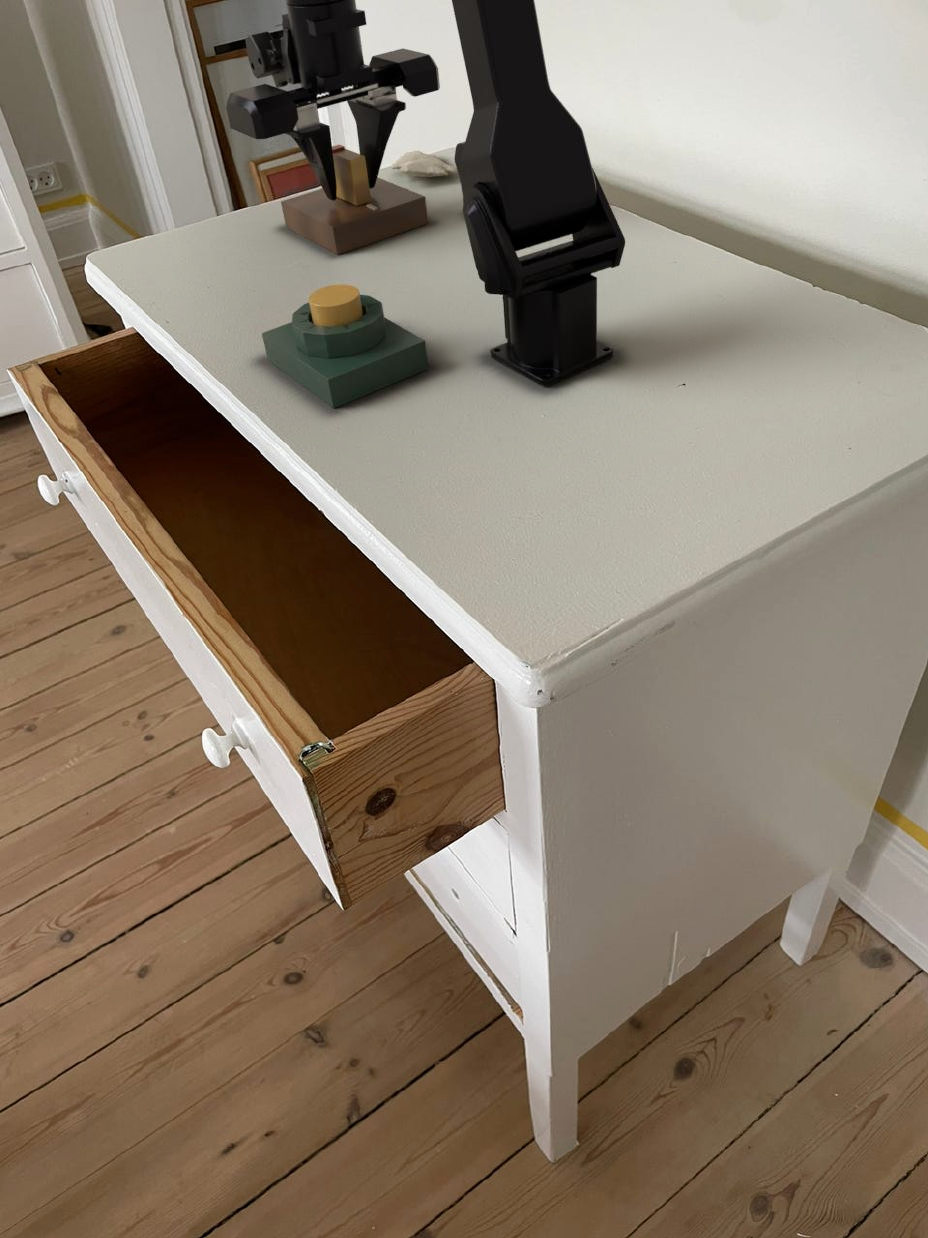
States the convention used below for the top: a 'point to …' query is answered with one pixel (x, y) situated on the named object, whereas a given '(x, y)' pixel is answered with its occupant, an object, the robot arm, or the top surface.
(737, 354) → the top surface
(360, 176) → the red-tipped wooden block
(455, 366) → the top surface
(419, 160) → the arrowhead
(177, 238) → the top surface
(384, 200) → the lock plate
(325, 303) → the release button
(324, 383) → the box
